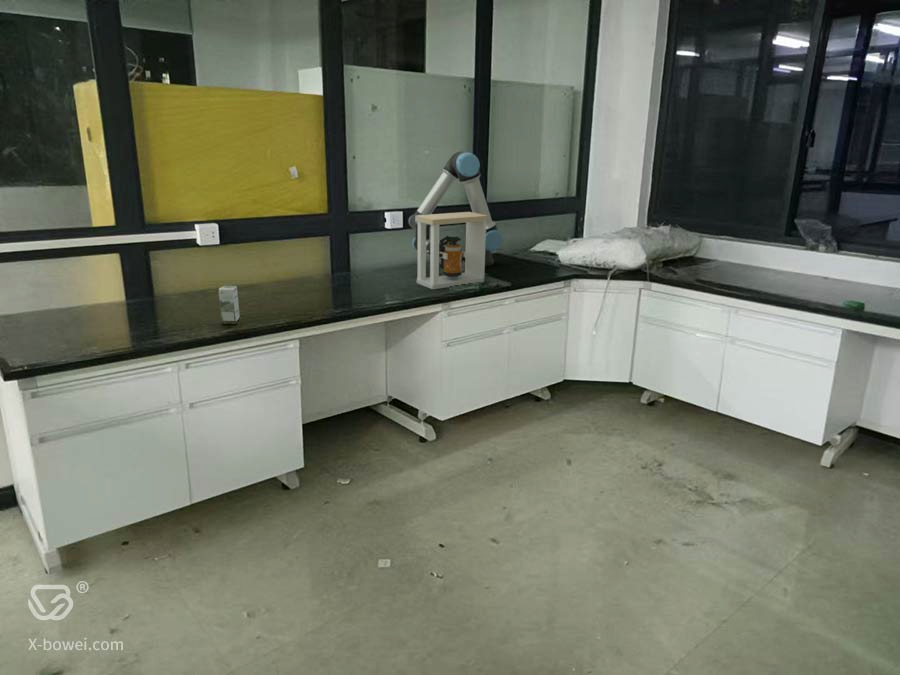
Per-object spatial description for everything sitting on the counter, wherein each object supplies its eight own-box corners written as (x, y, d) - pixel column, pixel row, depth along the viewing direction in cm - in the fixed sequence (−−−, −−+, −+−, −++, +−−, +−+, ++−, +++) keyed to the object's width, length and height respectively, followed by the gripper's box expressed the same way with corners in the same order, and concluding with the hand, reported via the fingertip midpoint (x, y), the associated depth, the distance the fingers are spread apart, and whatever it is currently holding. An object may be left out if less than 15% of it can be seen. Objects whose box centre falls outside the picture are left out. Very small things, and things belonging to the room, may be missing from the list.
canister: (461, 278, 315) (462, 238, 308) (439, 277, 315) (439, 237, 308) (461, 273, 323) (462, 234, 316) (439, 273, 324) (440, 234, 317)
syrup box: (240, 320, 253) (237, 285, 248) (236, 325, 247) (232, 289, 243) (226, 320, 253) (222, 285, 248) (221, 325, 247) (217, 289, 243)
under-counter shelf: (467, 275, 335) (469, 211, 324) (485, 281, 323) (487, 215, 312) (415, 282, 318) (415, 215, 308) (432, 289, 306) (432, 219, 295)
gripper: (449, 253, 337) (474, 260, 320) (413, 257, 325) (436, 265, 308) (450, 239, 335) (474, 246, 317) (413, 242, 323) (436, 250, 305)
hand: (455, 255), depth 312 cm, fingers closed on canister, 10 cm apart
